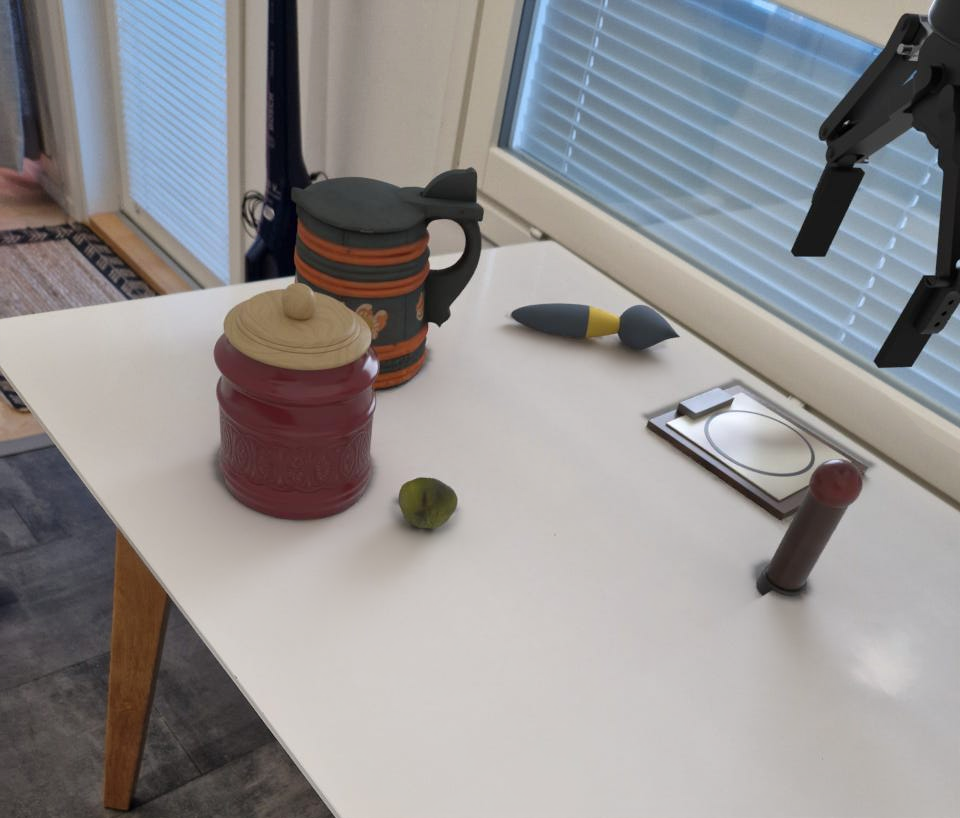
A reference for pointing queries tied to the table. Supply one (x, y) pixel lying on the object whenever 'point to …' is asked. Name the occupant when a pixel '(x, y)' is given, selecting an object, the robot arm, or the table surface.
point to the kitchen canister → (295, 403)
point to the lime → (427, 502)
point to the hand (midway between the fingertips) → (847, 306)
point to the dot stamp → (811, 527)
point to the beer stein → (387, 257)
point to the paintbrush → (598, 323)
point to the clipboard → (749, 446)
